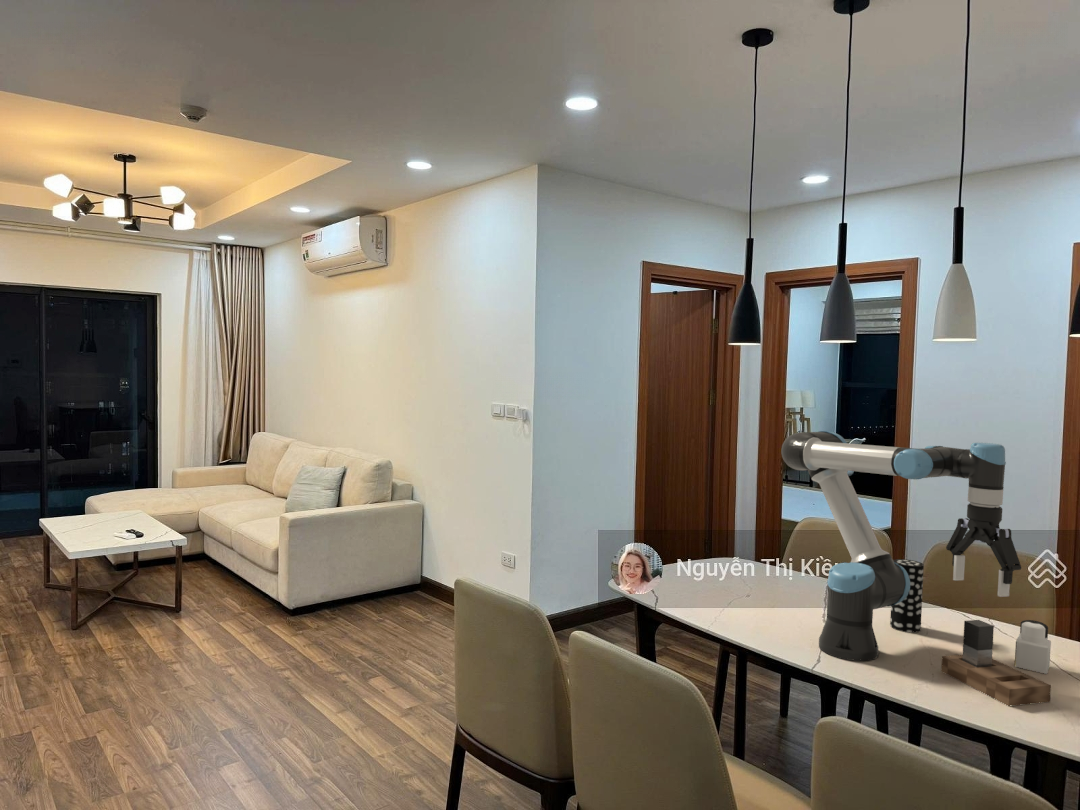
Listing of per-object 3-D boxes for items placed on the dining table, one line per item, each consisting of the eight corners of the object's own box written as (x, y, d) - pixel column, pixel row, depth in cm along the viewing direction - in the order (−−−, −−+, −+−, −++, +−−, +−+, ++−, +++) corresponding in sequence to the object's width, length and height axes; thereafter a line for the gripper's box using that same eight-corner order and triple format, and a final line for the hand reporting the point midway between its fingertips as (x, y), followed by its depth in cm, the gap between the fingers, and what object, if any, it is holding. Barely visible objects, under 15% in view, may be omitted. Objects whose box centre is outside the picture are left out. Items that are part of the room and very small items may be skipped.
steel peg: (976, 682, 180) (979, 626, 180) (961, 674, 184) (964, 620, 184) (990, 680, 181) (993, 625, 181) (976, 673, 186) (978, 619, 185)
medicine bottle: (1017, 659, 196) (1019, 615, 195) (1049, 666, 191) (1052, 622, 191) (1014, 667, 190) (1016, 622, 190) (1047, 674, 186) (1049, 629, 185)
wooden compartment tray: (1008, 706, 167) (1009, 689, 167) (941, 671, 186) (941, 656, 186) (1049, 701, 170) (1050, 685, 170) (979, 667, 189) (980, 652, 189)
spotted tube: (924, 633, 214) (927, 567, 213) (894, 631, 216) (897, 565, 215) (915, 624, 222) (918, 560, 221) (886, 621, 224) (889, 558, 223)
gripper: (1042, 514, 170) (1036, 602, 171) (957, 495, 194) (953, 573, 195) (1016, 514, 168) (1011, 604, 169) (934, 496, 192) (929, 574, 193)
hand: (980, 587), depth 182 cm, fingers open, 13 cm apart
